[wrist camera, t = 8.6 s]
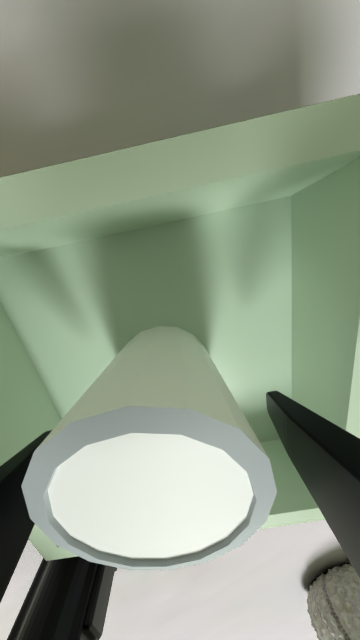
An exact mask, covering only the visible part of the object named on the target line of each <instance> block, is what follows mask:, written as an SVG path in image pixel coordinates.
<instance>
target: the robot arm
mask: <svg viewBox="0 0 360 640" xmlns="http://www.w3.org/2000/svg"><path fill="white" fill-rule="evenodd" d="M266 404H267V411H268V414H269V416H270V418H271V420H272V422H273V425H274V427H275V429H276V431H277V433H278V435H279V437H280V440H281V442H282V444H283V446H284V448H285V450H286V452H287V454H288V456H289V458H290V460H291V461H292V463H293V465H294V466H295V468H296V470H297V472H298V473H299V475H300V477H301V478H302V480H303V482H304V484H305V485H306V487H307V489H308V490H309V492H310V494H311V496H312V497H313V499H314V501H315V502H316V504H317V506H318V508H319V509H320V511H321V513H322V514H323V516H324V518H325V520H326V521H327V523H328V525H329V526H330V528H331V530H332V532H333V533H334V535H335V537H336V538H337V540H338V542H339V543H340V545H341V547H342V549H343V550H344V552H345V554H346V555H347V557H348V559H349V561H350V562H351V564H352V566H353V567H354V569H355V571H356V573H357V574H358V576H359V578H360V438H358V437H356V436H354V435H353V434H351V433H349V432H348V431H346V430H344V429H342V428H341V427H339V426H337V425H335V424H334V423H332V422H330V421H329V420H327V419H325V418H323V417H322V416H320V415H318V414H316V413H315V412H313V411H311V410H310V409H308V408H306V407H304V406H303V405H301V404H299V403H298V402H296V401H294V400H292V399H291V398H289V397H287V396H285V395H284V394H282V393H280V392H279V391H270V392H267V393H266ZM51 431H52V430H49V431H46V432H44V433H43V434H41V435H40V436H39V437H37V438H36V439H35V440H34V441H32V442H31V443H30V444H28V445H27V446H26V447H24V448H23V449H22V450H21V451H19V452H18V453H17V454H15V455H14V456H13V457H12V458H10V459H9V460H8V461H6V462H5V463H4V464H2V465H1V466H0V602H1V600H2V598H3V596H4V593H5V591H6V589H7V586H8V584H9V582H10V580H11V577H12V575H13V573H14V570H15V568H16V566H17V564H18V561H19V559H20V557H21V554H22V552H23V550H24V548H25V545H26V543H27V541H28V539H29V536H30V534H31V532H32V529H33V527H34V525H35V523H34V522H33V521H32V520H31V519H30V516H29V513H28V509H27V506H26V502H25V498H24V495H23V491H22V488H21V485H22V483H23V480H24V477H25V475H26V472H27V469H28V467H29V464H30V461H31V458H32V456H33V453H34V451H35V450H36V449H37V448H38V446H39V445H40V444H41V443H42V442H43V441H44V439H45V438H46V437H47V436H48V435H49V434H50V432H51ZM116 570H117V567H112V566H107V565H103V564H98V563H94V562H89V561H87V560H85V559H83V558H81V557H79V556H77V557H70V558H63V559H56V560H50V561H46V560H45V559H44V558H43V560H42V562H41V564H40V567H39V569H38V571H37V573H36V576H35V578H34V580H33V582H32V585H31V587H30V589H29V591H28V594H27V596H26V598H25V600H24V603H23V605H22V607H21V609H20V612H19V614H18V616H17V618H16V621H15V623H14V625H13V627H12V630H11V632H10V634H9V636H8V639H7V640H99V639H100V637H101V635H102V632H103V627H104V622H105V617H106V611H107V606H108V601H109V596H110V591H111V586H112V581H113V576H114V572H115V571H116Z"/></svg>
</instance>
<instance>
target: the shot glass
mask: <svg viewBox="0 0 360 640" xmlns="http://www.w3.org/2000/svg"><path fill="white" fill-rule="evenodd" d="M21 488H22V491H23V495H24V498H25V502H26V506H27V509H28V513H29V516H30V519H31V520H32V521H33V522H34V523H35V524H36V525H37V526H38V527H39V528H40V529H41V530H42V531H43V533H44V534H45V535H46V536H47V537H48V538H49V539H50V540H51V541H52V542H53V543H54V544H55V545H57V546H59V547H61V548H63V549H65V550H67V551H69V552H71V553H73V554H75V555H77V556H79V557H81V558H83V559H85V560H87V561H89V562H94V563H98V564H103V565H107V566H112V567H117V568H121V569H126V570H172V569H177V568H182V567H186V566H191V565H196V564H200V563H205V562H209V561H211V560H213V559H215V558H217V557H219V556H221V555H223V554H225V553H227V552H229V551H231V550H233V549H236V548H238V547H240V546H242V545H243V544H244V543H245V542H246V541H247V540H248V539H249V538H250V537H251V536H252V535H253V534H254V533H255V532H256V531H257V530H258V529H259V528H260V527H261V526H262V525H263V524H264V523H265V522H266V521H267V518H268V516H269V513H270V510H271V507H272V505H273V502H274V499H275V497H276V494H277V489H276V485H275V480H274V476H273V472H272V468H271V463H270V459H269V457H268V456H267V454H266V452H265V450H264V449H263V447H262V445H261V443H260V442H259V440H258V438H257V437H256V435H255V433H254V431H253V430H252V428H251V426H250V424H249V423H248V421H247V419H246V418H245V416H244V414H243V412H242V411H241V409H240V407H239V405H238V404H237V402H236V400H235V399H234V397H233V395H232V393H231V392H230V390H229V388H228V386H227V385H226V383H225V381H224V380H223V378H222V376H221V374H220V373H219V371H218V369H217V368H216V366H215V364H214V362H213V361H212V359H211V357H210V355H209V354H208V352H207V350H206V349H205V347H204V346H203V345H202V344H201V342H200V341H199V340H198V339H197V338H196V337H195V336H194V335H193V334H191V333H189V332H187V331H185V330H182V329H180V328H178V327H168V326H157V327H153V328H150V329H147V330H144V331H141V332H140V333H139V334H137V335H136V336H135V337H134V338H133V339H132V340H130V341H129V342H128V343H127V344H126V345H125V347H124V348H123V349H122V350H121V351H120V352H119V354H118V355H117V356H116V357H115V358H114V359H113V361H112V362H111V363H110V364H109V365H108V366H107V367H106V369H105V370H104V371H103V372H102V373H101V374H100V376H99V377H98V378H97V379H96V380H95V381H94V383H93V384H92V385H91V386H90V387H89V388H88V390H87V391H86V392H85V393H84V394H83V395H82V396H81V398H80V399H79V400H78V401H77V402H76V403H75V405H74V406H73V407H72V408H71V409H70V410H69V412H68V413H67V414H66V415H65V416H64V417H63V419H62V420H61V421H60V422H59V423H58V424H57V426H56V427H55V428H54V429H53V430H52V431H51V432H50V434H49V435H48V436H47V437H46V438H45V439H44V441H43V442H42V443H41V444H40V445H39V446H38V448H37V449H36V450H35V451H34V453H33V456H32V458H31V461H30V464H29V467H28V469H27V472H26V475H25V477H24V480H23V483H22V485H21Z"/></svg>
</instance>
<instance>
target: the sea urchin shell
mask: <svg viewBox="0 0 360 640" xmlns="http://www.w3.org/2000/svg"><path fill="white" fill-rule="evenodd" d="M309 590H310V591H307V592H308V599H307V603H308V610H307V611H308V613H309V615H310V618H311V623H312V624H311V625H312V626H313V628H314V629H315V631H316V632H317V638H318V639H319V640H360V578H359V576H358V574H357V573H356V571H355V569H354V567H353V566H352V564H351V563H350V564H343V566H342V567H339V566H335V567H334V568H332V569H328V573H327V574H323V573H322V575H321V576H320V575H319V577H316V581H314V582H313V584H312V585H310V589H309Z"/></svg>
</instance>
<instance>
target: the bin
mask: <svg viewBox="0 0 360 640" xmlns="http://www.w3.org/2000/svg"><path fill="white" fill-rule="evenodd" d="M157 326H168V327H178V328H180V329H182V330H185V331H187V332H189V333H191V334H193V335H194V336H195V337H196V338H197V339H198V340H199V341H200V342H201V344H202V345H203V346H204V347H205V349H206V350H207V352H208V354H209V355H210V357H211V359H212V361H213V362H214V364H215V366H216V368H217V369H218V371H219V373H220V374H221V376H222V378H223V380H224V381H225V383H226V385H227V386H228V388H229V390H230V392H231V393H232V395H233V397H234V399H235V400H236V402H237V404H238V405H239V407H240V409H241V411H242V412H243V414H244V416H245V418H246V419H247V421H248V423H249V424H250V426H251V428H252V430H253V431H254V433H255V435H256V437H257V438H258V440H259V442H260V443H261V445H262V447H263V449H264V450H265V452H266V454H267V456H268V457H269V459H270V463H271V468H272V472H273V476H274V480H275V485H276V489H277V494H276V497H275V499H274V502H273V505H272V507H271V510H270V513H269V516H268V518H267V521H266V522H265V523H264V524H263V525H262V526H261V527H260V528H259V529H265V528H272V527H279V526H286V525H292V524H299V523H306V522H313V521H319V520H325V518H324V516H323V514H322V513H321V511H320V509H319V508H318V506H317V504H316V502H315V501H314V499H313V497H312V496H311V494H310V492H309V490H308V489H307V487H306V485H305V484H304V482H303V480H302V478H301V477H300V475H299V473H298V472H297V470H296V468H295V466H294V465H293V463H292V461H291V460H290V458H289V456H288V454H287V452H286V450H285V448H284V446H283V444H282V442H281V440H280V437H279V435H278V433H277V431H276V429H275V427H274V425H273V422H272V420H271V418H270V416H269V414H268V411H267V404H266V393H267V392H270V391H279V392H280V393H282V394H284V395H285V396H287V397H289V398H291V399H292V400H294V401H296V402H298V403H299V404H301V405H303V406H304V407H306V408H308V409H310V410H311V411H313V412H315V413H316V414H318V415H320V416H322V417H323V418H325V419H327V420H329V421H330V422H332V423H334V424H335V425H337V426H339V427H341V428H342V429H344V430H346V431H348V432H349V433H351V434H353V435H354V436H356V437H358V438H360V94H357V95H352V96H348V97H344V98H340V99H335V100H331V101H327V102H322V103H318V104H314V105H310V106H305V107H301V108H297V109H292V110H288V111H284V112H280V113H275V114H271V115H267V116H262V117H258V118H254V119H249V120H245V121H241V122H237V123H232V124H228V125H224V126H219V127H215V128H211V129H207V130H202V131H198V132H194V133H189V134H185V135H181V136H177V137H172V138H168V139H164V140H159V141H155V142H151V143H147V144H142V145H138V146H134V147H129V148H125V149H121V150H116V151H112V152H108V153H104V154H99V155H95V156H91V157H86V158H82V159H78V160H74V161H69V162H65V163H61V164H56V165H52V166H48V167H44V168H39V169H35V170H31V171H26V172H22V173H18V174H14V175H9V176H5V177H1V178H0V466H1V465H2V464H4V463H5V462H6V461H8V460H9V459H10V458H12V457H13V456H14V455H15V454H17V453H18V452H19V451H21V450H22V449H23V448H24V447H26V446H27V445H28V444H30V443H31V442H32V441H34V440H35V439H36V438H37V437H39V436H40V435H41V434H43V433H44V432H46V431H49V430H53V429H54V428H55V427H56V426H57V424H58V423H59V422H60V421H61V420H62V419H63V417H64V416H65V415H66V414H67V413H68V412H69V410H70V409H71V408H72V407H73V406H74V405H75V403H76V402H77V401H78V400H79V399H80V398H81V396H82V395H83V394H84V393H85V392H86V391H87V390H88V388H89V387H90V386H91V385H92V384H93V383H94V381H95V380H96V379H97V378H98V377H99V376H100V374H101V373H102V372H103V371H104V370H105V369H106V367H107V366H108V365H109V364H110V363H111V362H112V361H113V359H114V358H115V357H116V356H117V355H118V354H119V352H120V351H121V350H122V349H123V348H124V347H125V345H126V344H127V343H128V342H129V341H130V340H132V339H133V338H134V337H135V336H136V335H137V334H139V333H140V332H141V331H144V330H147V329H150V328H153V327H157ZM259 529H258V530H259ZM29 540H30V542H31V543H32V544H33V545H34V547H35V548H36V549H37V550H38V552H39V553H40V554H41V555H42V556H43V558H44V559H45V560H46V561H50V560H56V559H63V558H70V557H77V555H75V554H73V553H71V552H69V551H67V550H65V549H63V548H61V547H59V546H57V545H55V544H54V543H53V542H52V541H51V540H50V539H49V538H48V537H47V536H46V535H45V534H44V533H43V531H42V530H41V529H40V528H39V527H38V526H37V525H36V524H35V525H34V527H33V529H32V532H31V534H30V536H29Z"/></svg>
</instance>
